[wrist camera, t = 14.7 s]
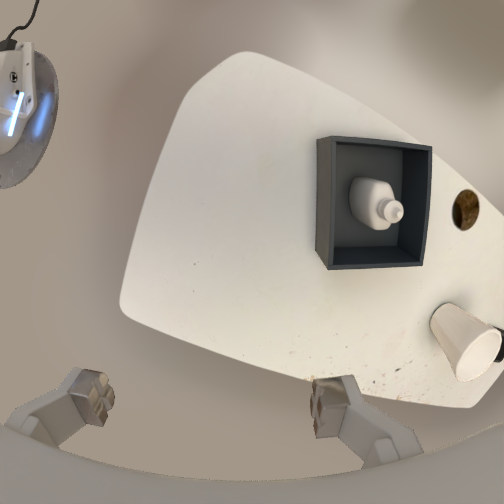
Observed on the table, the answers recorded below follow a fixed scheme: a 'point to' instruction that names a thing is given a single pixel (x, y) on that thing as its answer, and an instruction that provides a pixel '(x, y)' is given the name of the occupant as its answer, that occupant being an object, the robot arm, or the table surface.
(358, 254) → the bin
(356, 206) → the eye dropper bottle
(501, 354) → the phone
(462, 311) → the cup
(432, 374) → the table surface
